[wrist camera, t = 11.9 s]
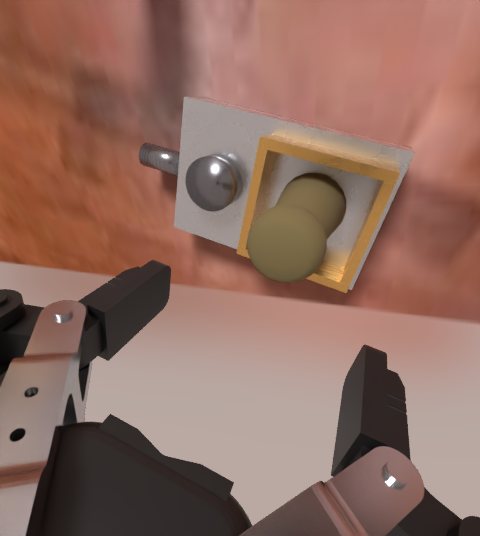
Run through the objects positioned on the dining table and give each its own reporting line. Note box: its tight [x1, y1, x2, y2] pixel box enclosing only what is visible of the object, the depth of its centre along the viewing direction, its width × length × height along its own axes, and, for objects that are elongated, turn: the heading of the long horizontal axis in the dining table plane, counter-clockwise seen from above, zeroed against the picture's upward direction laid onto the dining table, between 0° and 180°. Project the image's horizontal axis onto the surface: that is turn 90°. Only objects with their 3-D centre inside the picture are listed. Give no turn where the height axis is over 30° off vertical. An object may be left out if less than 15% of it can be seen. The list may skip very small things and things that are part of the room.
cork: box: [247, 173, 346, 283], centre depth 24 cm, size 6×6×11 cm
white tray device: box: [139, 97, 415, 293], centre depth 30 cm, size 13×25×7 cm, turn 77°
